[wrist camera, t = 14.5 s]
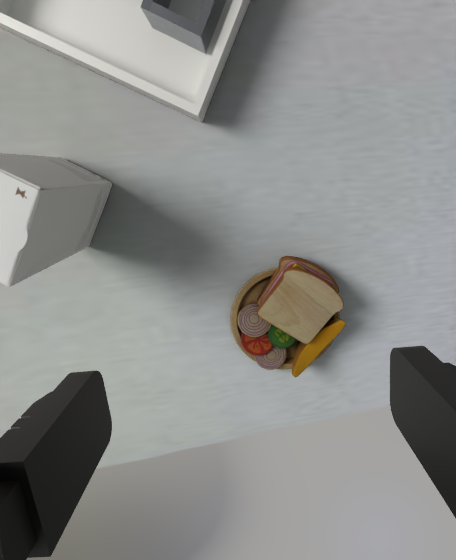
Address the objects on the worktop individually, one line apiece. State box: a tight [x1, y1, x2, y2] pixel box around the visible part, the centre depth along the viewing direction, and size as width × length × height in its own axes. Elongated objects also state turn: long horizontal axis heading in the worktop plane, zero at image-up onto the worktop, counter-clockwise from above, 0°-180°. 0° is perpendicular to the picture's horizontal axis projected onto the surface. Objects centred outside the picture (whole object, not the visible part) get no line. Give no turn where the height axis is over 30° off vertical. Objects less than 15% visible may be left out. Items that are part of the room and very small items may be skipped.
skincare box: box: [0, 153, 112, 287], centre depth 34 cm, size 8×7×16 cm
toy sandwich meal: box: [230, 256, 346, 377], centre depth 41 cm, size 12×14×5 cm
